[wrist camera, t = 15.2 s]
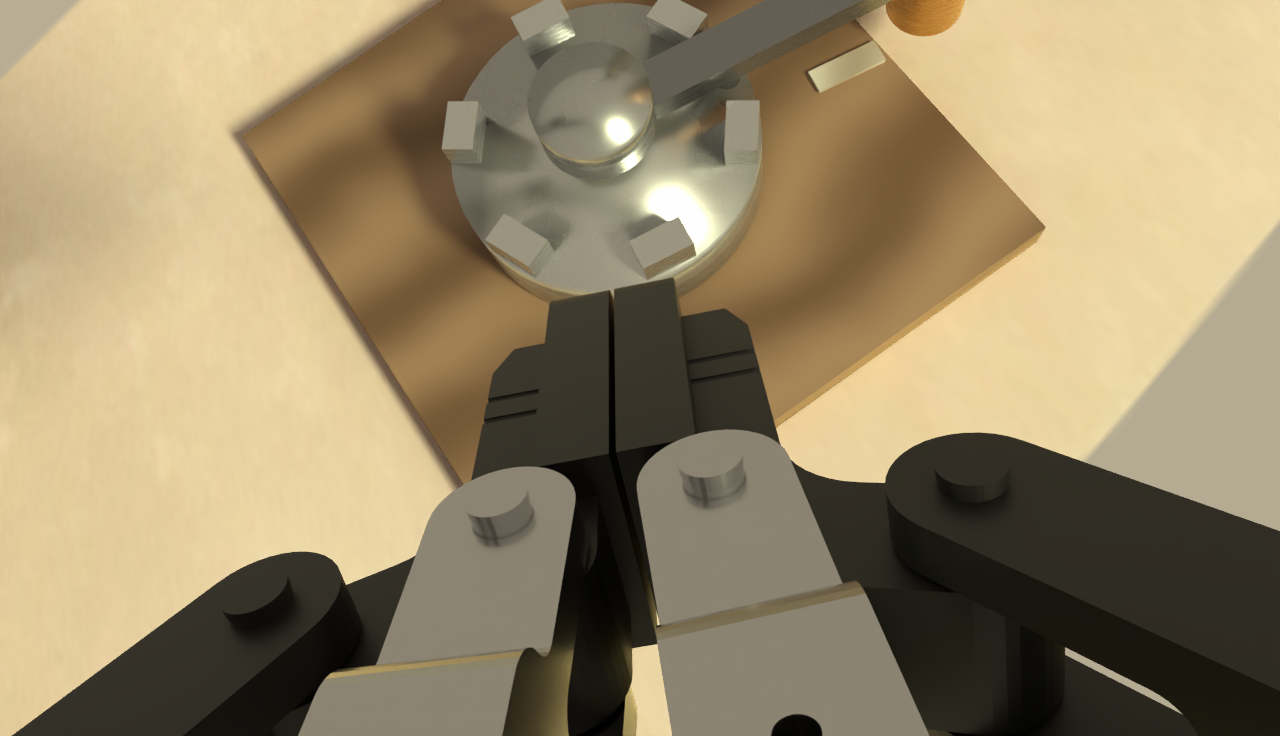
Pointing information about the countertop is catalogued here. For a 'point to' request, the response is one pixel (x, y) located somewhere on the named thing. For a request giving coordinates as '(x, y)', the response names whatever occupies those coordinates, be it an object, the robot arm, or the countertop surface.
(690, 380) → the robot arm
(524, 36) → the wooden handle lever
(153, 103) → the countertop surface
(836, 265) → the base plate
